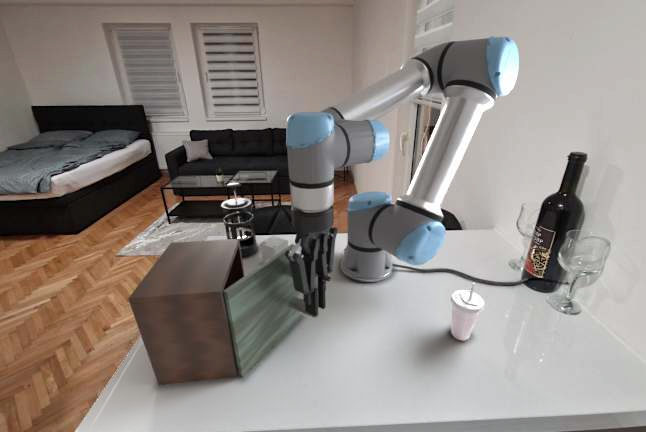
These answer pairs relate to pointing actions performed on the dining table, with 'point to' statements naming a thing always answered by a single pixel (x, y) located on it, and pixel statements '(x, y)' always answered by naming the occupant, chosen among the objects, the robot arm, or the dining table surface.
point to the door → (263, 309)
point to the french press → (245, 233)
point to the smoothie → (465, 312)
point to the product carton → (272, 247)
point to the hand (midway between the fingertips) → (315, 309)
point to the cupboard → (189, 311)
